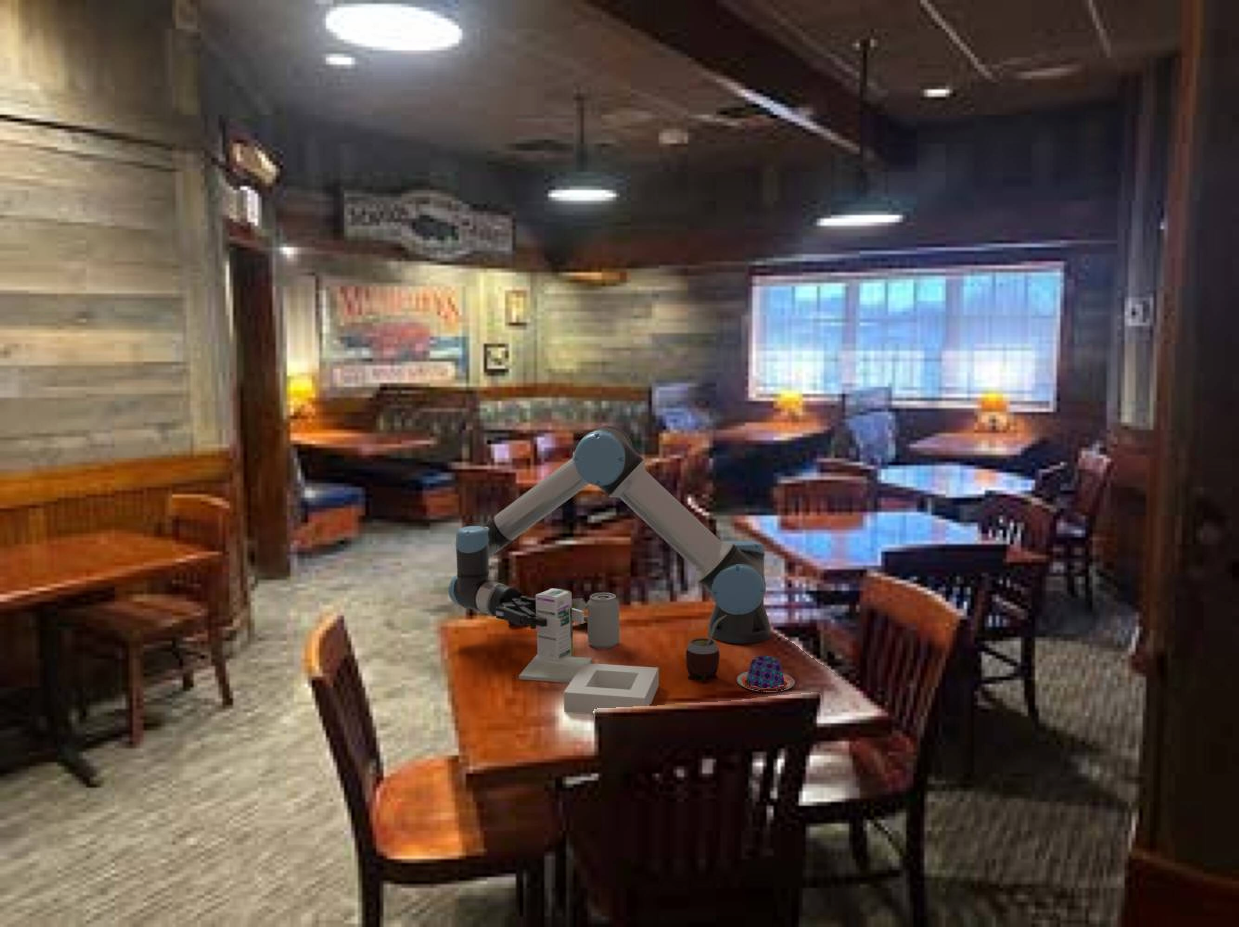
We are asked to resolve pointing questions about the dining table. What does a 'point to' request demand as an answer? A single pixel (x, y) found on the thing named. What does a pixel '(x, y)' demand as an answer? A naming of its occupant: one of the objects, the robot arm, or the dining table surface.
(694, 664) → the mate gourd
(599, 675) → the bore block
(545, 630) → the syrup box
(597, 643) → the can
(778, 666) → the pudding
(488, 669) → the dining table surface
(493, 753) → the dining table surface
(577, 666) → the sage tile
